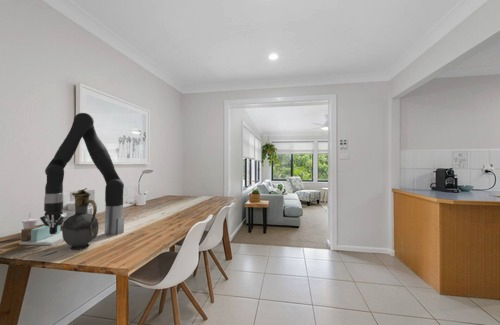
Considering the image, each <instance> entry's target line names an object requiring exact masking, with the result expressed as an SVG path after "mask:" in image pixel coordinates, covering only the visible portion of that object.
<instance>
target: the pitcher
mask: <svg viewBox="0 0 500 325" xmlns="http://www.w3.org/2000/svg"><path fill="white" fill-rule="evenodd" d="M85 190H88V188H87V187H86V188H84V189H79V190H77V191H79V192H78V193H72V195H73V196H74V197H75V215H73V216H70V217H69V218H67V219H65V220H64V222H63V223H62V226H61V227H62V229H61V231H62V235H63V240H64V242H65V243H66V244H67V245H69V246H70V249H71V250H72V251H78V250H79V251H80V250H84V249H87V248H89V247H90V244H89V243H91V242H92V241H94V240H95V239H96V238H97V236H98V233H99V221H98V218H97V217H96V214H97V211H98V210H97V207H98V205H97V204H96V201H95V199H94V200H89V196H90V195H91V194H89V193H88V192H86V191H85ZM89 203H91V204H92V205H93V210H92V214H88V213H87V210H88V205H89ZM96 205H97V206H96Z"/></svg>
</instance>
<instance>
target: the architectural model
mask: <svg viewBox="0 0 500 325" xmlns="http://www.w3.org/2000/svg"><path fill="white" fill-rule="evenodd" d="M84 191H86V192H88V193H89V194H91V195H90V196H89V200H94V201H95V199H96V198H95V193H96V192H95V191H96V190H95V189H89V190H88V189H85V190H84ZM78 192H79V191H78V190H75V191H65V192H63V209H62V213H63V214H66V215H65V216H67V218H69V217H70V216H73V215H75V197H74V196H73V195H72V193H78ZM96 206H97V207H98V204H96ZM87 213H88V214H92V215H93V205H92V204H91V203H89V205H88V210H87ZM67 218H66V219H67ZM66 219H65V220H66Z"/></svg>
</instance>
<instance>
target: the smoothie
mask: <svg viewBox="0 0 500 325" xmlns="http://www.w3.org/2000/svg"><path fill="white" fill-rule="evenodd" d="M28 214H29V215H28V216H29V217H28V219H23V220H22V221H21V223H22V226H23V229H26V228H29V227H33V226H37V223H38V221H39V219H38V218H31V216H32V215H31V214H32V212H31V211H30V212H29V213H28Z"/></svg>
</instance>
